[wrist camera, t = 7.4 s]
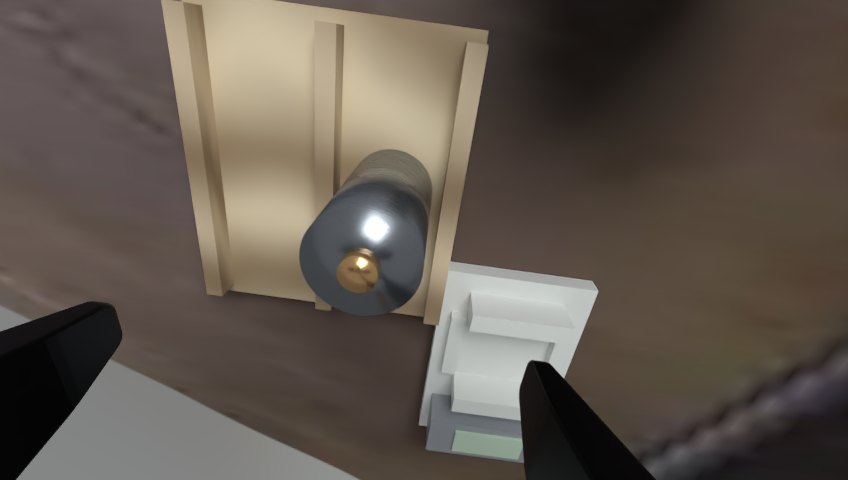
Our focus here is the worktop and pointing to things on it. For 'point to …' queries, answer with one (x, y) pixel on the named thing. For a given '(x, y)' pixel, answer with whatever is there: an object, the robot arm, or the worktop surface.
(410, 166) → the cell
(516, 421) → the cradle
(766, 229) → the worktop surface
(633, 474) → the robot arm
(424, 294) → the wooden tray
